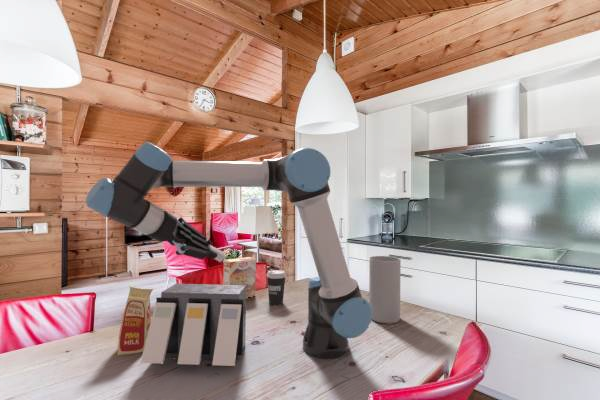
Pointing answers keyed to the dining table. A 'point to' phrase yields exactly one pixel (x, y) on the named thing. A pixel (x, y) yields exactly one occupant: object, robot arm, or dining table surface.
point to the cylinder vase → (384, 289)
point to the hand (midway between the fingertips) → (223, 257)
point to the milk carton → (135, 322)
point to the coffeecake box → (241, 273)
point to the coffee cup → (276, 286)
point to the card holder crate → (214, 299)
